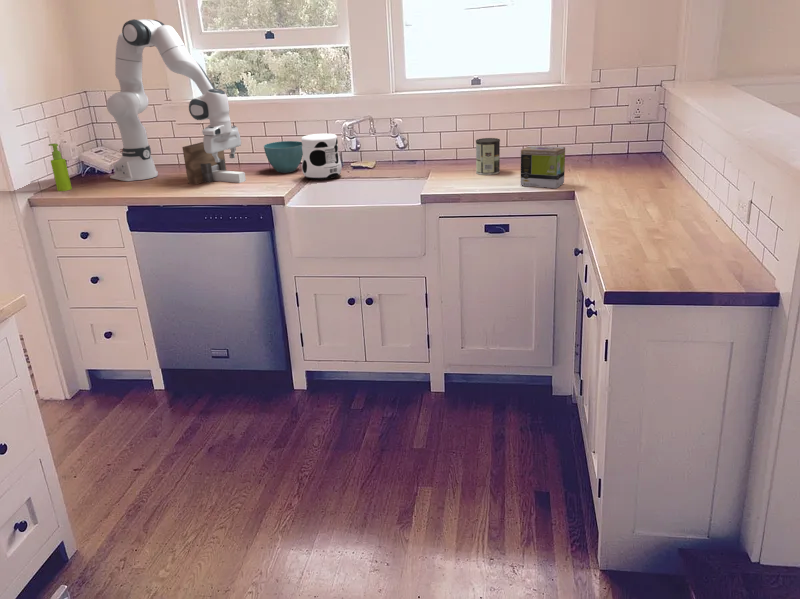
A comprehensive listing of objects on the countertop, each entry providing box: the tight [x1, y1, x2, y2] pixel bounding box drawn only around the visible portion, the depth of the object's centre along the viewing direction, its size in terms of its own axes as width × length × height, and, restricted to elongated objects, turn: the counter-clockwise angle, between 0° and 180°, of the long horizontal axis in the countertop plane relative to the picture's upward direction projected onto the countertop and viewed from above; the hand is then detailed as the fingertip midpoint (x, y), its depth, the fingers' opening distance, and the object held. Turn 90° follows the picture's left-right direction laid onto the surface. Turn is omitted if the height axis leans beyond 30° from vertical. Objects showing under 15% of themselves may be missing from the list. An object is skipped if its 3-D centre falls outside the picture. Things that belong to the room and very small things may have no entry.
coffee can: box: [475, 137, 501, 176], centre depth 301 cm, size 10×10×14 cm
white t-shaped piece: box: [211, 165, 247, 184], centre depth 311 cm, size 17×8×6 cm, turn 62°
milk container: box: [301, 133, 342, 181], centre depth 305 cm, size 17×17×18 cm
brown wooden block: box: [181, 141, 228, 185], centre depth 313 cm, size 8×20×16 cm, turn 152°
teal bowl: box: [263, 140, 303, 174], centre depth 323 cm, size 18×18×12 cm
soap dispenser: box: [48, 143, 73, 192], centre depth 306 cm, size 6×7×20 cm
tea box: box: [520, 145, 566, 189], centre depth 275 cm, size 15×10×15 cm
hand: (225, 160), depth 308 cm, fingers open, 8 cm apart
